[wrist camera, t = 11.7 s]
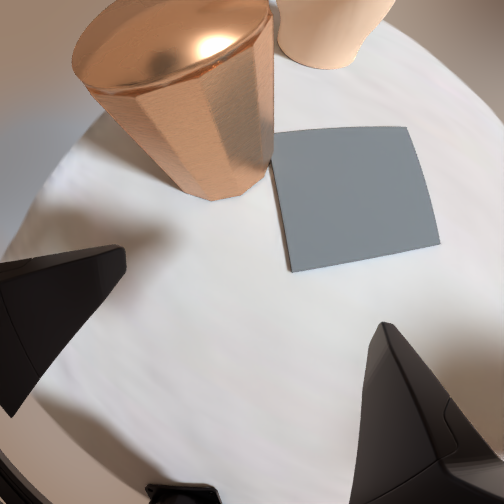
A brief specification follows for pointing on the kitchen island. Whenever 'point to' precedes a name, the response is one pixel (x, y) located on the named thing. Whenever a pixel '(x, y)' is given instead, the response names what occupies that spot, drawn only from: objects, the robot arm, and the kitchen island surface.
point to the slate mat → (351, 195)
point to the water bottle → (327, 29)
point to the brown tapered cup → (188, 86)
